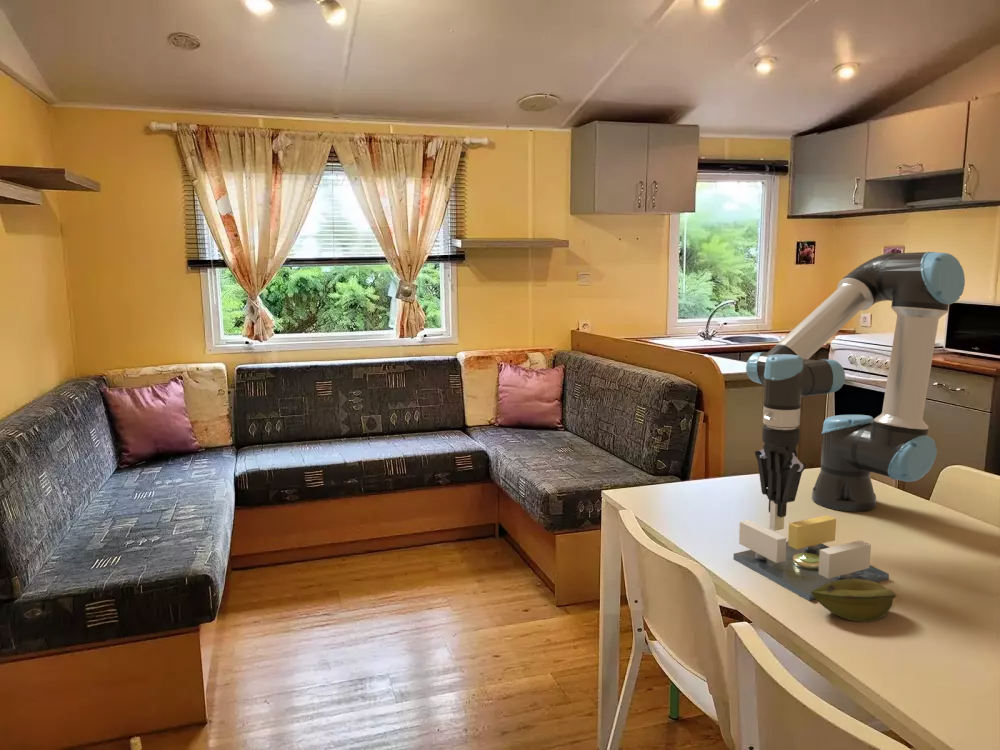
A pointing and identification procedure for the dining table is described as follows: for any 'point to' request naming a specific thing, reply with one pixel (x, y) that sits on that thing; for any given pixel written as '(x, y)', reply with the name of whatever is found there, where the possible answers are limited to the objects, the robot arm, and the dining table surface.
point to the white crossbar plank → (762, 541)
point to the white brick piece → (844, 559)
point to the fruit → (855, 599)
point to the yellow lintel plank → (811, 532)
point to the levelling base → (801, 570)
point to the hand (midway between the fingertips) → (776, 528)
